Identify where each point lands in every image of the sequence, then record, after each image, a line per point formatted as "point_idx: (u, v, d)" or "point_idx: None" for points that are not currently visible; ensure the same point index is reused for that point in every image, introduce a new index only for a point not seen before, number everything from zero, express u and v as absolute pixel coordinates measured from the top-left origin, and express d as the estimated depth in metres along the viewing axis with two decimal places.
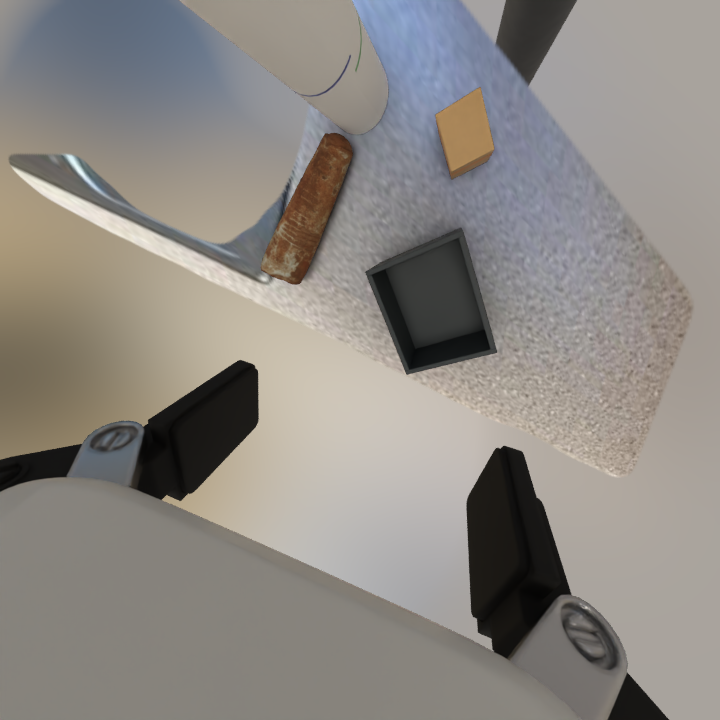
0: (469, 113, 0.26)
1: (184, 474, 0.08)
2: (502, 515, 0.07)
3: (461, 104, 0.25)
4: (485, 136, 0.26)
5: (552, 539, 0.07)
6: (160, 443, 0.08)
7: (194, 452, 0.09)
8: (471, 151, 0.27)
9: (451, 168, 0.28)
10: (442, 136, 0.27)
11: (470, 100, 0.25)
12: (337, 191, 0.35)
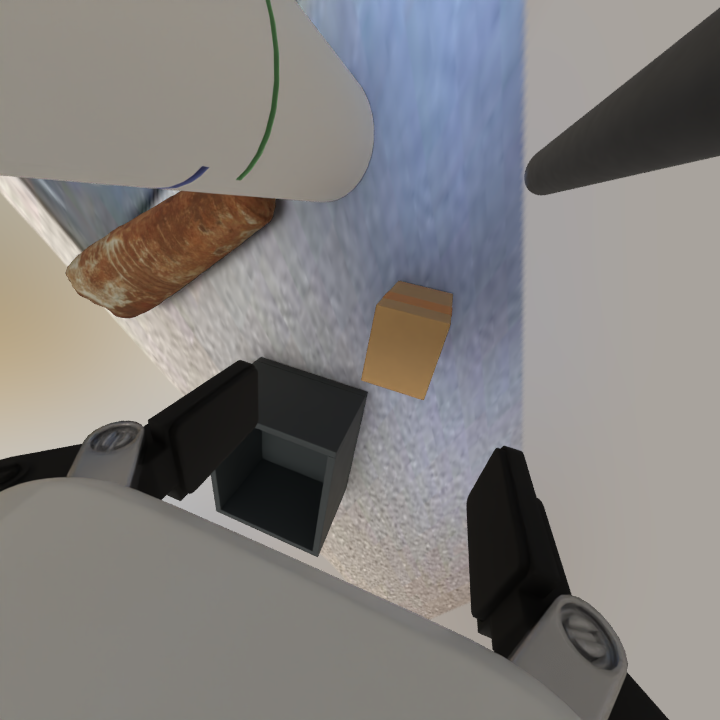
0: (418, 341, 0.15)
1: (184, 474, 0.08)
2: (502, 515, 0.07)
3: (415, 322, 0.15)
4: (422, 380, 0.16)
5: (552, 539, 0.07)
6: (160, 443, 0.08)
7: (194, 452, 0.09)
8: (396, 380, 0.17)
9: (363, 377, 0.17)
10: (371, 336, 0.16)
11: (429, 328, 0.15)
12: (227, 251, 0.21)
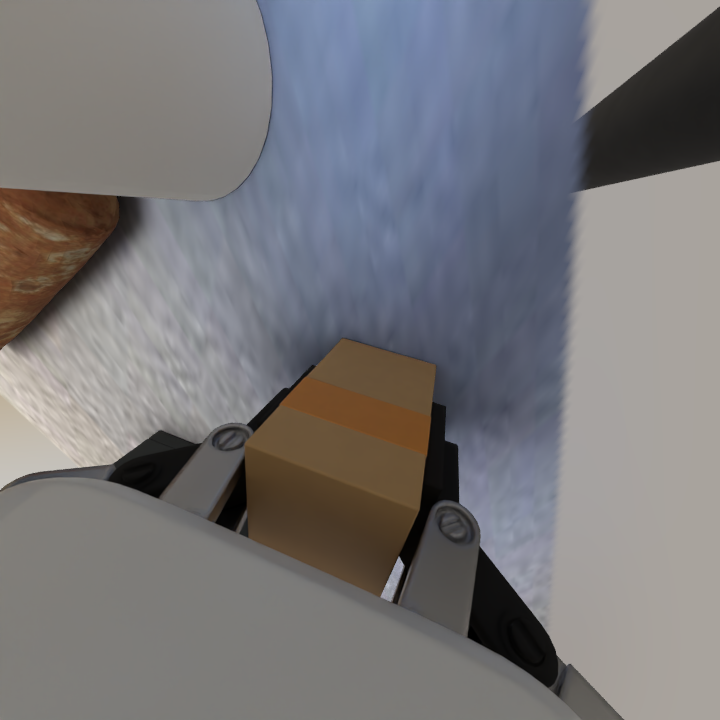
0: (349, 526, 0.06)
1: None
2: None
3: (335, 492, 0.06)
4: (365, 587, 0.07)
5: (457, 471, 0.09)
6: None
7: None
8: None
9: None
10: (249, 497, 0.07)
11: (368, 508, 0.06)
12: (48, 285, 0.12)
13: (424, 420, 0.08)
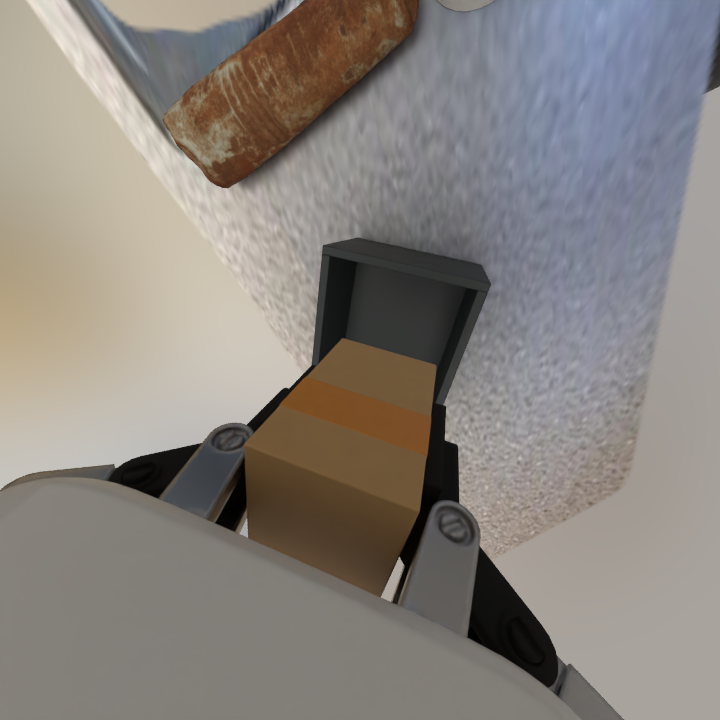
0: (349, 527, 0.06)
1: None
2: None
3: (335, 493, 0.06)
4: (366, 588, 0.07)
5: (457, 471, 0.09)
6: None
7: None
8: None
9: None
10: (249, 498, 0.07)
11: (368, 509, 0.06)
12: (353, 79, 0.19)
13: (424, 420, 0.08)
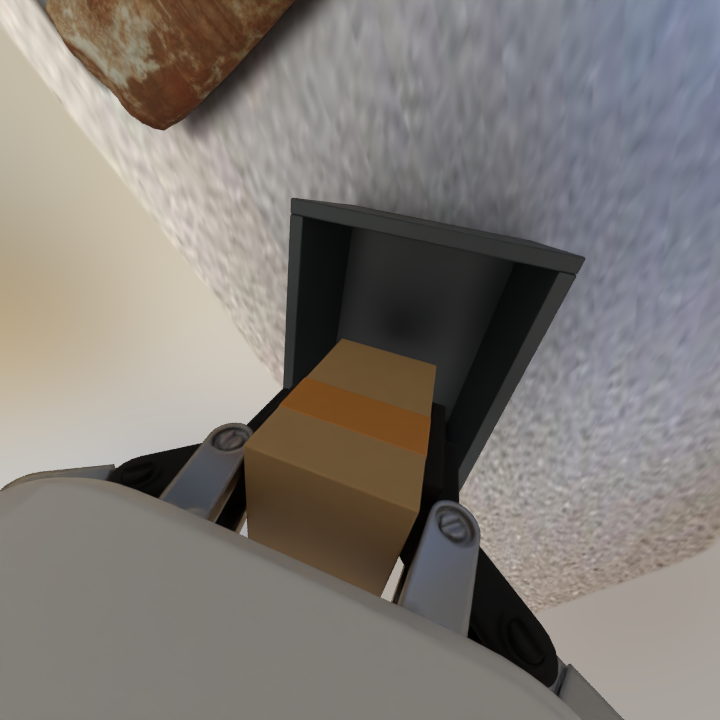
0: (348, 528, 0.06)
1: None
2: None
3: (335, 493, 0.06)
4: (365, 588, 0.07)
5: (457, 471, 0.09)
6: None
7: None
8: None
9: None
10: (248, 498, 0.07)
11: (367, 509, 0.06)
12: None
13: (424, 421, 0.08)
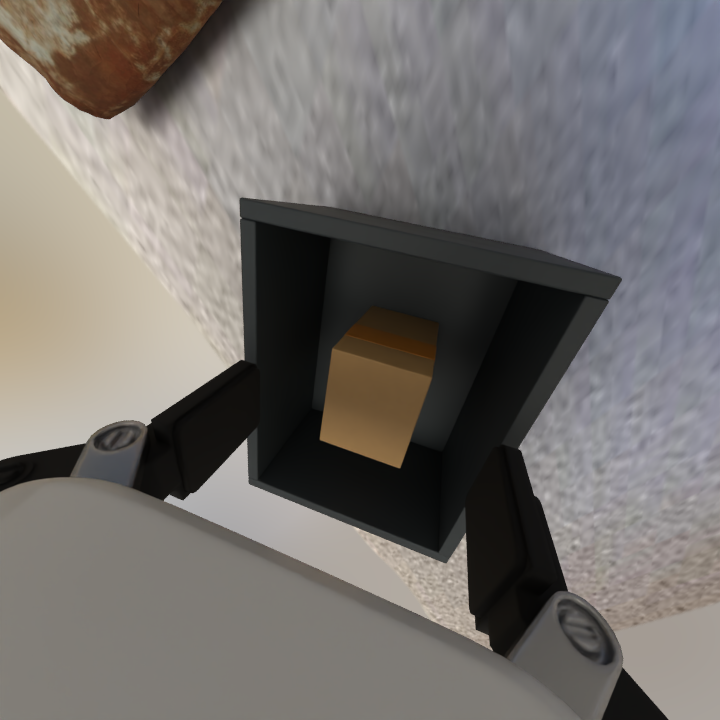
0: (390, 398, 0.11)
1: (187, 473, 0.08)
2: (500, 513, 0.08)
3: (384, 373, 0.11)
4: (397, 445, 0.12)
5: (549, 537, 0.07)
6: (163, 442, 0.08)
7: (197, 451, 0.09)
8: (364, 443, 0.13)
9: (321, 437, 0.13)
10: (328, 387, 0.12)
11: (403, 381, 0.11)
12: None
13: (432, 346, 0.13)
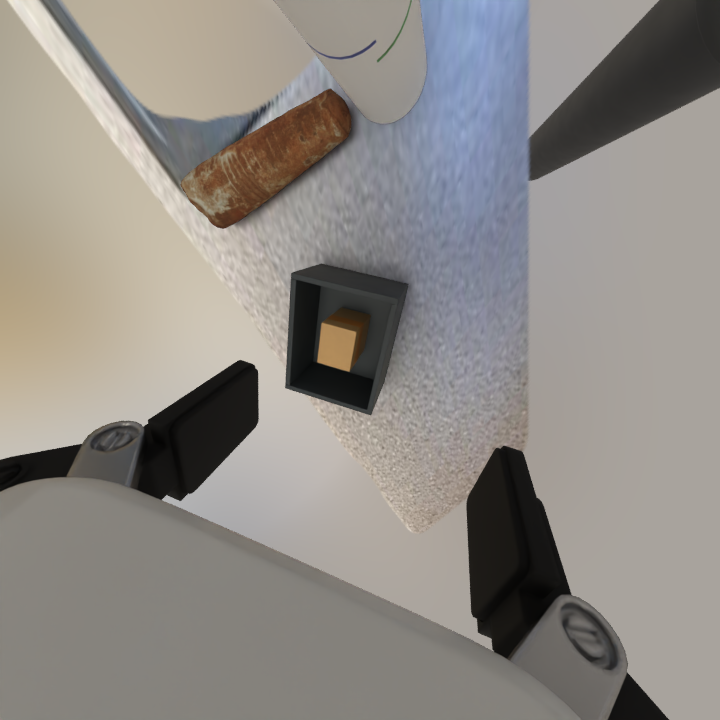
0: (343, 341, 0.31)
1: (184, 474, 0.08)
2: (502, 515, 0.07)
3: (340, 331, 0.30)
4: (347, 361, 0.32)
5: (552, 539, 0.07)
6: (160, 443, 0.08)
7: (194, 452, 0.09)
8: (335, 361, 0.32)
9: (318, 360, 0.33)
10: (320, 338, 0.31)
11: (347, 334, 0.30)
12: (311, 163, 0.29)
13: (362, 323, 0.32)
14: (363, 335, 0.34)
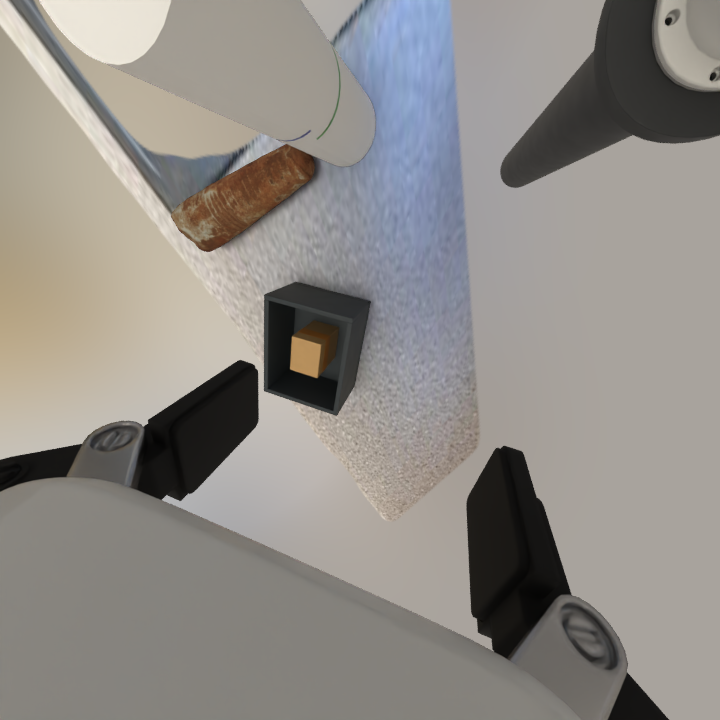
0: (310, 352, 0.36)
1: (184, 474, 0.08)
2: (502, 515, 0.07)
3: (308, 344, 0.35)
4: (315, 369, 0.36)
5: (552, 539, 0.07)
6: (160, 443, 0.08)
7: (194, 452, 0.09)
8: (304, 369, 0.37)
9: (290, 368, 0.38)
10: (291, 349, 0.36)
11: (313, 346, 0.35)
12: (282, 199, 0.33)
13: (328, 336, 0.37)
14: (331, 345, 0.39)
